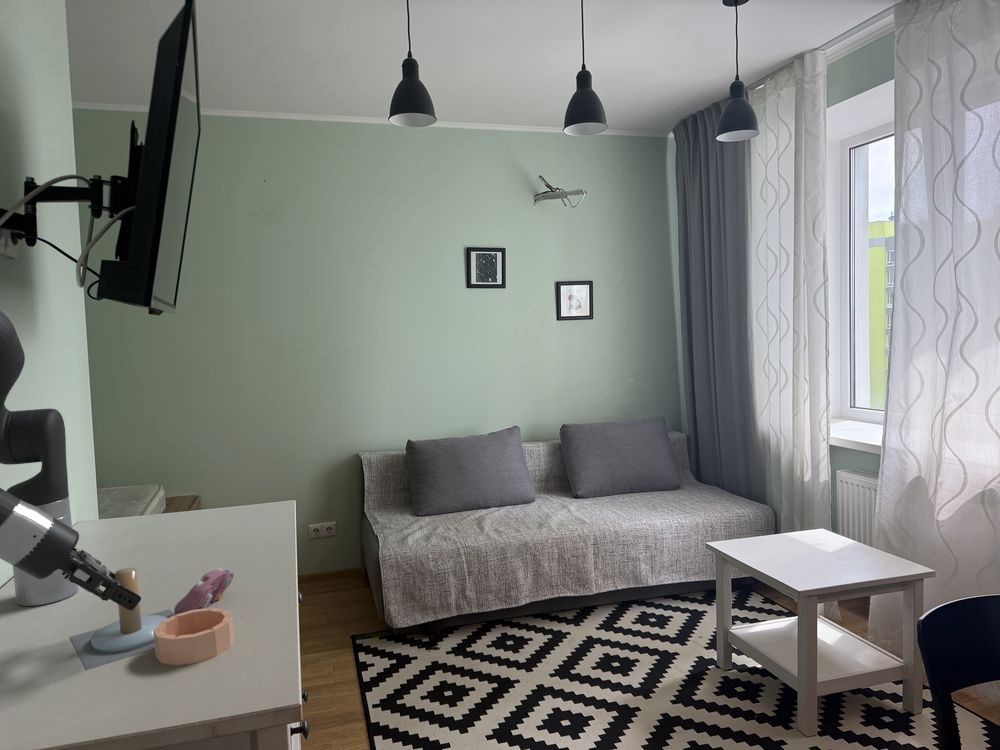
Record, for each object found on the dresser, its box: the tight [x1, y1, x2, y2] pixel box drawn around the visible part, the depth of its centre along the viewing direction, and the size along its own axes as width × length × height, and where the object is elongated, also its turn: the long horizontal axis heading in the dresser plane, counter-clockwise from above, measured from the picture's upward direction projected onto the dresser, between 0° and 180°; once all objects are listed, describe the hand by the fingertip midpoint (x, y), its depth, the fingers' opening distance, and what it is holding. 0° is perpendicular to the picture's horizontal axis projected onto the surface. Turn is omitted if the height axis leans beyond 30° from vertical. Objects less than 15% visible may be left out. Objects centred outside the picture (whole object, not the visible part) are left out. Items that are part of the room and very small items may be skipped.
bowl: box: [153, 607, 236, 666], centre depth 99 cm, size 10×10×4 cm
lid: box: [91, 567, 168, 653], centre depth 104 cm, size 10×10×10 cm
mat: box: [69, 608, 175, 671], centre depth 104 cm, size 14×14×1 cm
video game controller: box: [173, 567, 235, 615], centre depth 115 cm, size 10×5×7 cm, turn 170°
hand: (130, 596), depth 104 cm, fingers open, 8 cm apart
